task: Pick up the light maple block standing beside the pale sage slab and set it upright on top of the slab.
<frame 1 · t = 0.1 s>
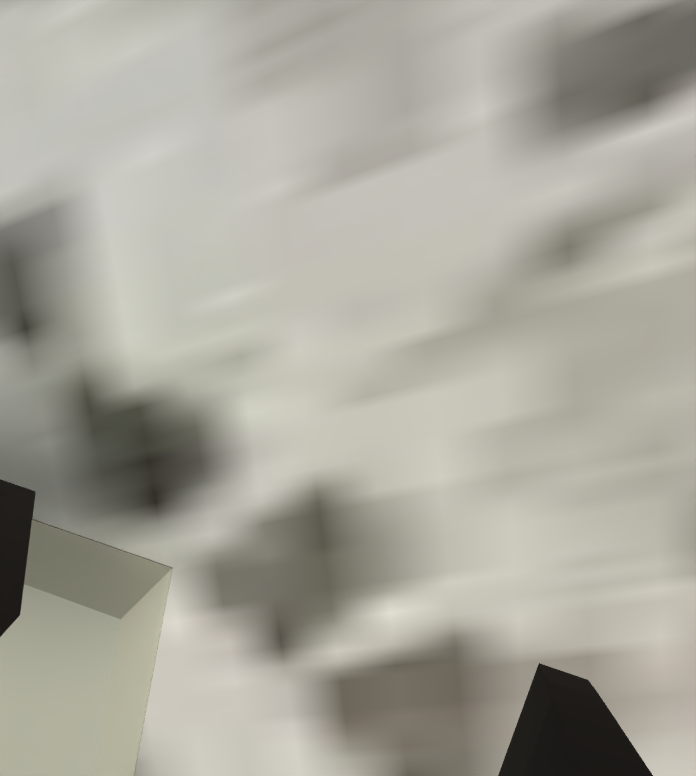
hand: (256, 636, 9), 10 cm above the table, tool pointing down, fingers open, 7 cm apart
sage slab: (3, 656, 23), on the table
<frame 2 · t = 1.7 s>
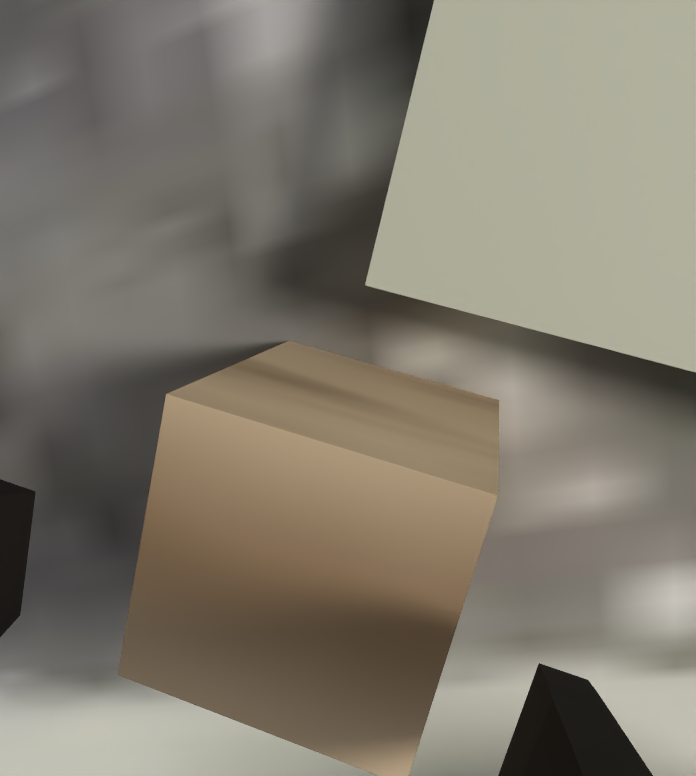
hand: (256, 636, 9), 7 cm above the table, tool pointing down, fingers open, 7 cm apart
maple block: (365, 469, 16), on the table
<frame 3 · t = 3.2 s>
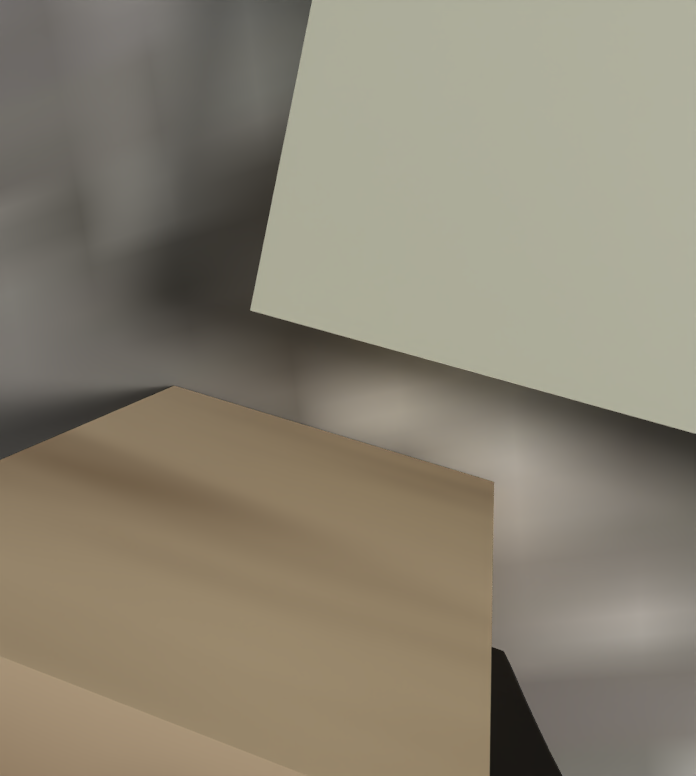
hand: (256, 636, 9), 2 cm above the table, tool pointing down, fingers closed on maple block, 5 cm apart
maple block: (292, 578, 10), on the table, touching gripper
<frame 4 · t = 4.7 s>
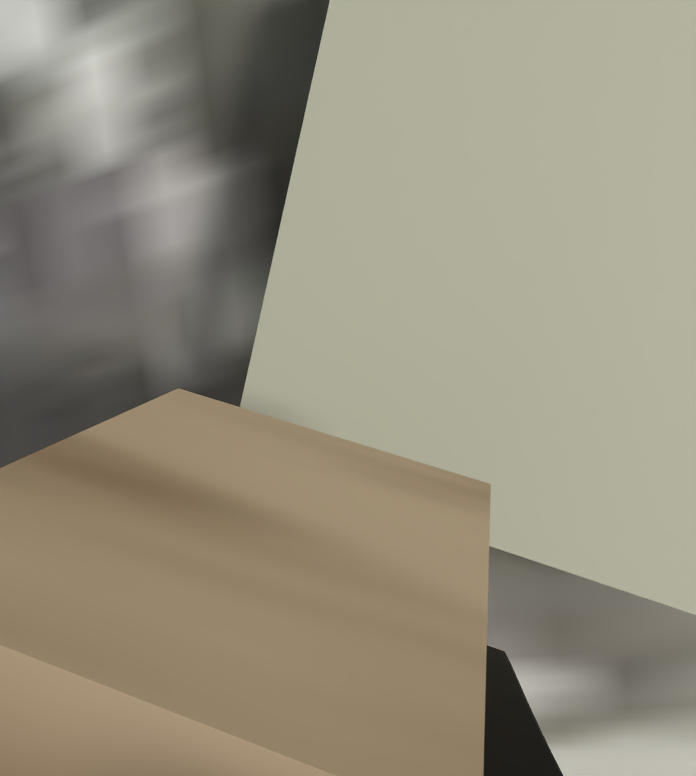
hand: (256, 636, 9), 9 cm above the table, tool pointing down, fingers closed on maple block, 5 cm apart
maple block: (293, 577, 11), point 7 cm above the table, touching gripper
sage slab: (537, 280, 16), on the table
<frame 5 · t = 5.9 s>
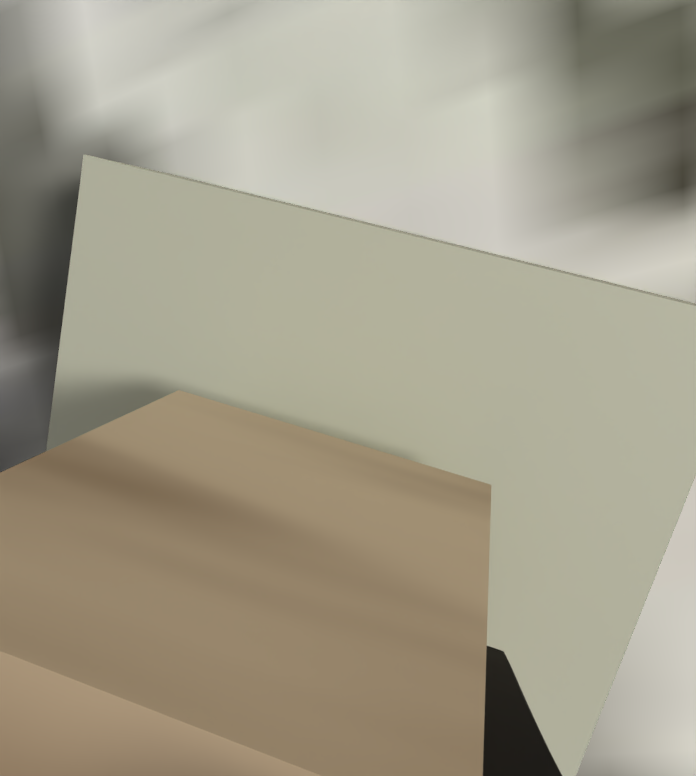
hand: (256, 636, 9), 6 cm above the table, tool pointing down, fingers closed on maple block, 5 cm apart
maple block: (294, 578, 11), point 4 cm above the table, touching gripper
sage slab: (351, 482, 15), on the table
when the fingers open (6 cm above the table, at t = 6.5 s): maple block drops 1 cm, resting on sage slab.
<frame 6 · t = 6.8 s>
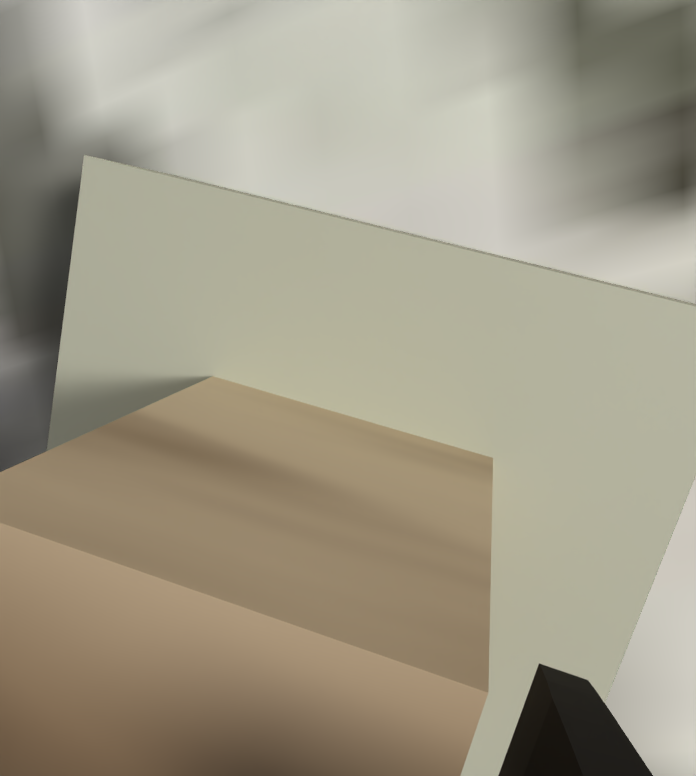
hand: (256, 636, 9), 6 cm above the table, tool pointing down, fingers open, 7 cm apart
maple block: (316, 545, 12), point 3 cm above the table, touching sage slab
sage slab: (352, 482, 15), on the table
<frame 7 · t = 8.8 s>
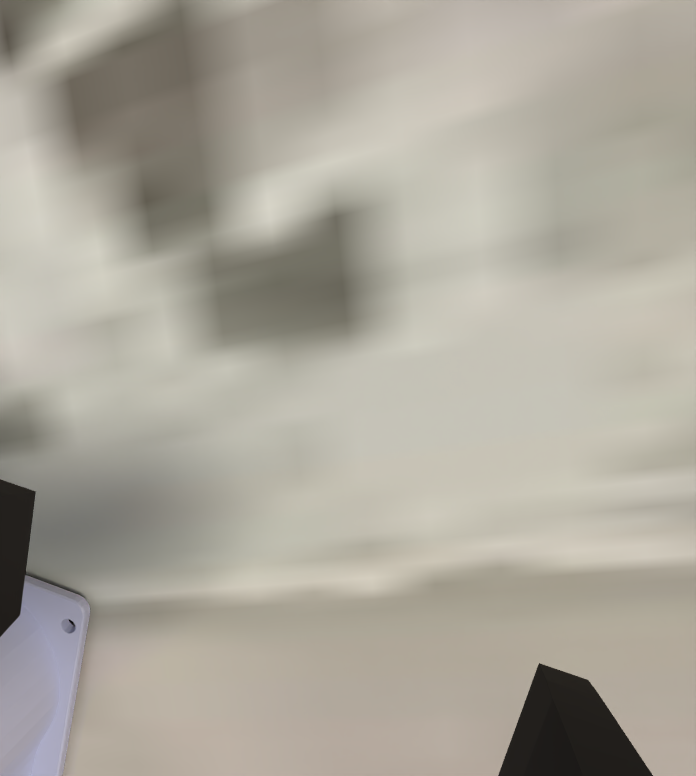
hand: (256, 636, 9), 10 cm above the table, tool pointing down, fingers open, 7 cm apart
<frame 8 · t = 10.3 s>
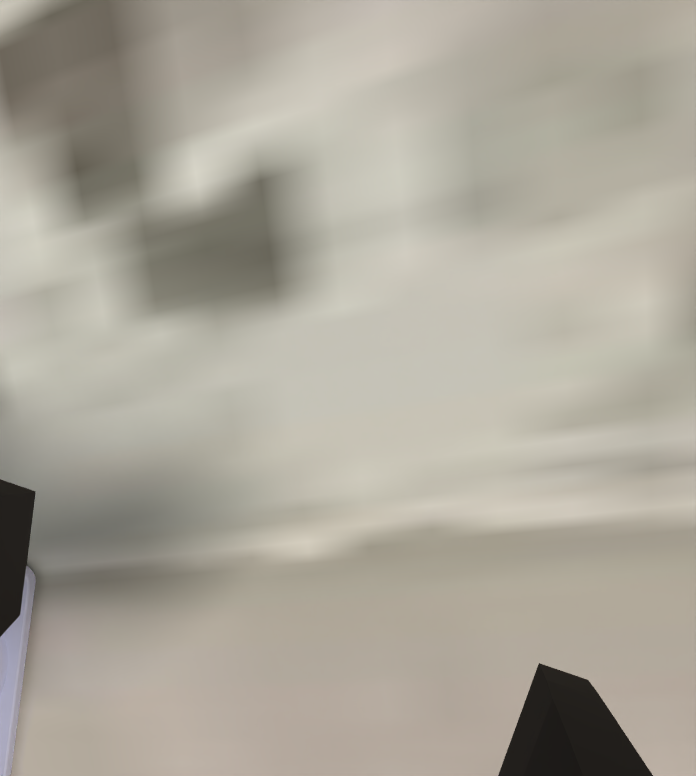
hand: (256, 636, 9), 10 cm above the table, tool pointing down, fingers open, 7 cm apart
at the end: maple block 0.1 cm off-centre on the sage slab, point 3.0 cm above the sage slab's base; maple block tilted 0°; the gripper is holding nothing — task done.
